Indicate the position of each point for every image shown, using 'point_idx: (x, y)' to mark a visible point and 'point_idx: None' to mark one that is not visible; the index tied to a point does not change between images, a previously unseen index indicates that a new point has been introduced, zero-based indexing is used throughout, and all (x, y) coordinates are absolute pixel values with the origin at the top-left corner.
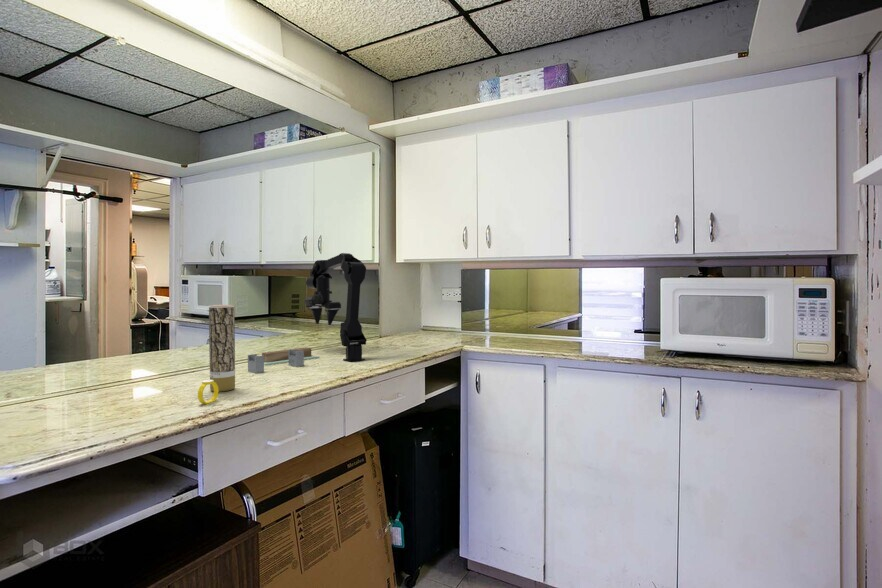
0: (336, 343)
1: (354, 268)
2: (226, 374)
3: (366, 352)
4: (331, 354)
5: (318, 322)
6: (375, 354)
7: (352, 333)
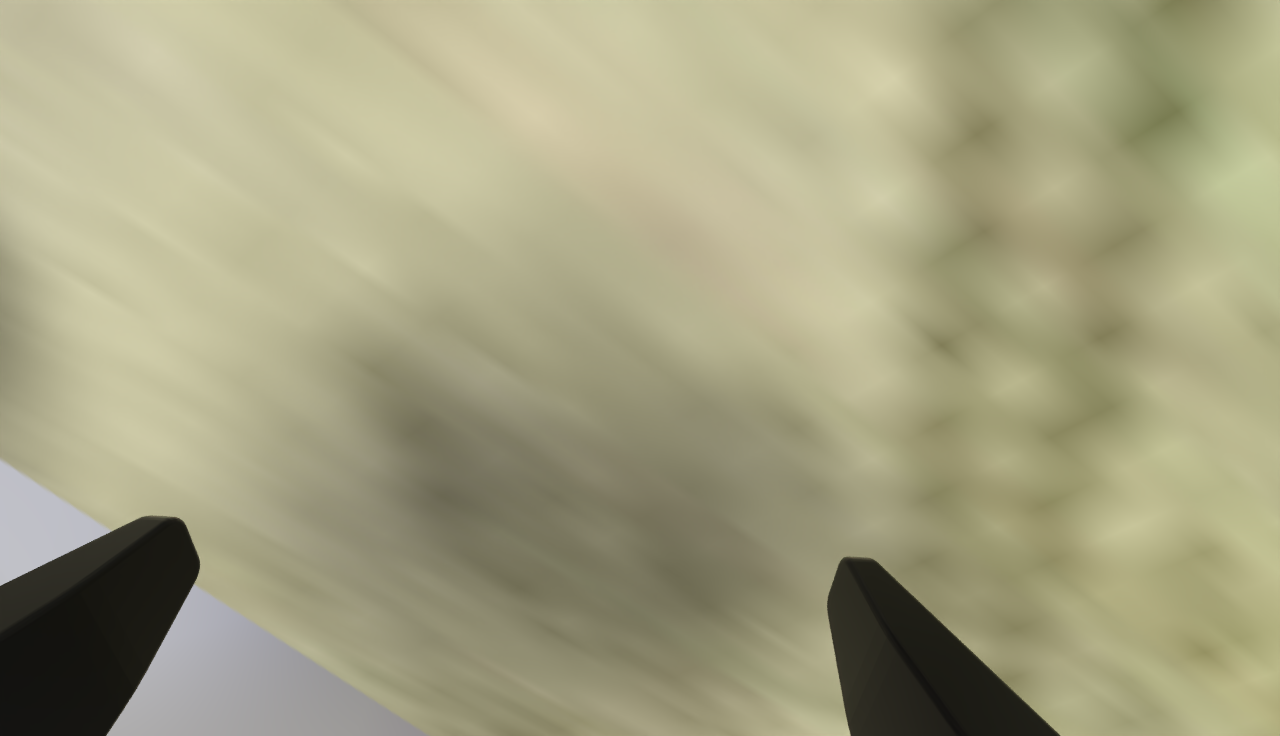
0: None
1: None
2: None
3: (333, 561)
4: (466, 283)
5: (838, 630)
6: None
7: None
